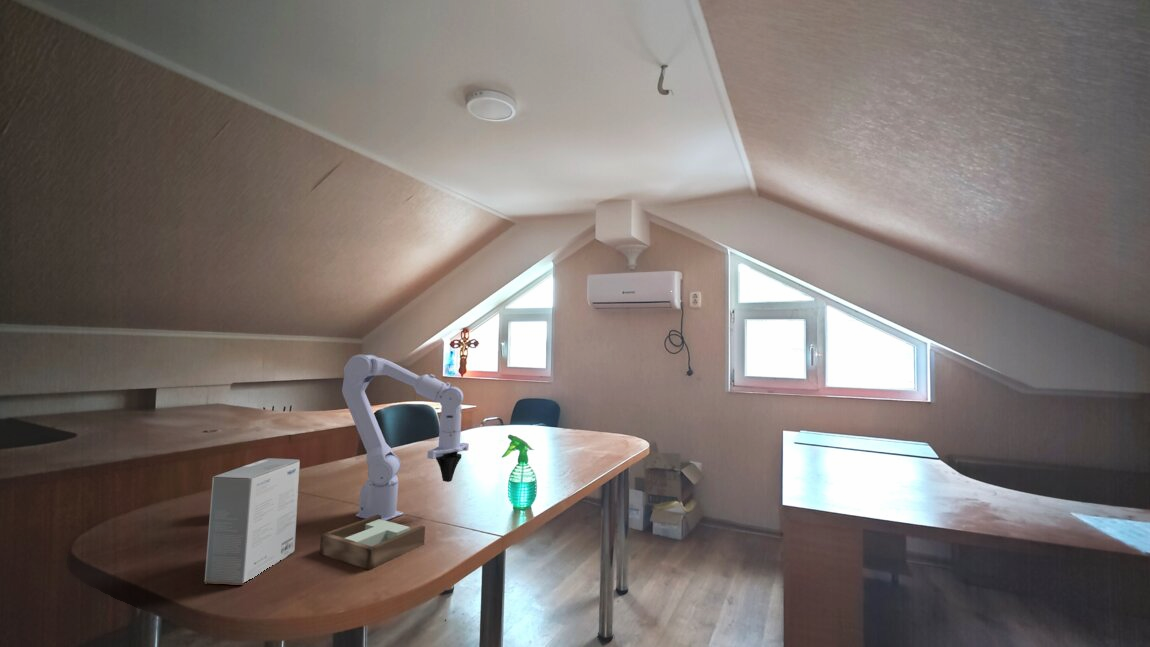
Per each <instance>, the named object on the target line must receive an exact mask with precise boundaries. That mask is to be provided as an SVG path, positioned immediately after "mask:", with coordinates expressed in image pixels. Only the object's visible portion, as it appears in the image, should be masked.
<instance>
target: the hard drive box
mask: <svg viewBox="0 0 1150 647" xmlns="http://www.w3.org/2000/svg"><path fill="white" fill-rule="evenodd" d="M300 462H301V461H300V459H293V458H273V457H271V458H265V459H261V460H258V461H255V462H252V463H249V464H246V465H244V466H241V467H238V468H237V467H236V468H234V469H232V470H229V471H226V472H222V473H220V474H217V475H215V476H212V481H211V482H212V483H211V495H210V509H209V519H208V520H209V521H208V535H207V544H206V545H207V547H206V555H205V556H206V557H205V558H206V559H205V573H204V582H205V581H211V582H222V583H225V582H233V583H244V582H246V581H248V580H249V579H252V578H253V579H255V578H256V577H255V576H257V575H258V574H259V575H260V573H261V572H262V573H264V572H265V571H267V570H268V569H270V568H271V567H273V566H275V565H276V564H277V563H279V562H281V561H282V560H284V559H286V558H287V557H288V556H289V555H292V554H293V553H294V552H295V547H296V534H297V533H296V530H297V515H298V514H297V513H298V497H299V480H300V479H299V478H300V464H301V463H300ZM280 560H281V561H280ZM272 565H273V566H272ZM269 567H270V568H269ZM267 568H268V569H267ZM266 569H267V570H266ZM264 570H265V571H264ZM263 571H264V572H263ZM262 573H261V574H262ZM259 575H258V576H259ZM258 576H257V577H258ZM254 577H255V578H254ZM253 579H252V580H253ZM248 582H249V581H248Z"/></svg>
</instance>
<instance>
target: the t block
mask: <svg viewBox="0 0 1150 647" xmlns="http://www.w3.org/2000/svg"><path fill="white" fill-rule="evenodd" d="M409 530H411V526H407V525H403V524H400V523H396V522H391V521H389V520H386V521H385V520H381V519H378V520H376V521H373V522H370V523H367V524H365V530H364V531H362V532H359V533H356V534H354V535H351V536H349V537H346V538H345V539H349V540H352V541H355V542H359V543H362V544H365V545H369V546H374V545H376V544H379V543H381V542H383V541H386V540H388V539H390V538H393V537H395V536H398V535H400V534H402V533H405V532H407V531H409Z"/></svg>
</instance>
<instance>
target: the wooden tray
mask: <svg viewBox="0 0 1150 647" xmlns="http://www.w3.org/2000/svg"><path fill="white" fill-rule="evenodd" d="M378 519H381V515H375V516H372V517H369V518H366V519H364V518H363V519H362V520H358V521H356V522H353V523H350V524H348V525H344V526H342V527H338V528H336V529H335V528H334V529H333V530H331V531H327V532H324V533H322V534H320V541H319V554H320V555H324V556H325V557H329V558H332V559H336V560H338V561H340V562H341V561H342V562H345V563H348V564H350V565H353V566H357V567H359V568H362V569H365V570H369V571H371V570H373V569H375V568H377V567H379V566H382V565H383V564H385V563H388V562H390V561H392V560H394V559H396V558H398V557H400V556H402V555H404V554H407V553H408V552H411V551H413V550H415V549H417V548H419V547H422V546H423V545H425V534H426V526H425V525H419V526H416V527H415V528H412V529H410V530H409V531H407V532H405V533H402V534H400V535H398V536H395V537H393V538H390V539H388V540H386V541H383V542H381V543H379V544H376V545H374V546H369V545H365V544H362V543H359V542H355V541H352V540H349V539H345V538H346V537H349V536H351V535H354V534H356V533H359V532H362V531H364V530H365V524H367V523H370V522H373V521H376V520H378Z"/></svg>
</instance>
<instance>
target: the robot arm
mask: <svg viewBox="0 0 1150 647" xmlns="http://www.w3.org/2000/svg"><path fill="white" fill-rule="evenodd" d="M343 373H344V374H343V380H342V382H343V383H342V388H341V393H342V395H343V399H344V400H345V403H346V405H347V408H348V410H349V412H350V416H351V417H352V420H353V422H354V425H355V428H356V429H357V432H358V434H359V438H360V440H361V441H362V444H363V446H364V449H365V451H366V459H365V460H366V461H365V462H366V464H367V476H368V480H367V481H365V482H364V484H362V486H361V489H360V492H359V500H358V502H359V504H358V513H356V514H355V517H357V518H361V519H363V520H364V519H366V518H369V517H372V516H375V515H381V520H385V521H389V520H392V519H395V518H398V517H399V516H403V515H404V511H399V510H397V509H398V508H397V506H398V493H399V492H398V491H399V490H398V489H399V478H398V476H397V474H399V472H400V470H401V467H402V461H401V459H400V457H398V455H396V454H395V453H394V451H393V450H392V448H391V447H390V445H388V443H387V442H386V439H385V437H384V435H383V433H382V429H381V428H380V425H379V423H378V420H377V419H376V416H375V412H374V411H373V407H372V406H371V403H370V401H369V398H368V396H367V393H366V392H365V391H366V389H367V388H368V386H369V384H370V382H371V381H372V380H373V379H374V378H375V377H376V376H389V377H390V378H392V379H395V380H398V381H401V382H402V383H405V384H407V385H409V386H412V387H413V388H414V391H415V393H416V394H418V395H420V396H422V397H424V398H426V399H429V400H431V401H432V402H435V403H439V404H440V407H441V409H440V410H441V412H440V416H439V431H438V432H439V434H438V446H437V447H435V448H432V449H430V450H428V451H427V456H426V457H427V458H426V459H429V460H436V462H437V465H438V466H439V469H440V473H441V478H442V482H446V483H449V482H452V481H453V478H454V474H455V472H456V471H455V470H456V469H457V465H458V464H459V462H460V461H461V459H462V454H461V453H460V452H463V451H464V452H465V451H469V448H470V447H469V445H470V444H469V443H468V442H461V433H462V431H461V429H462V409H463V408H462V405H461V404H462V403H463V401H464V393H463V391H462V390H461V389H460V388H459V387H458V386H456V385H455V386H454V385H453V386H451V383H450V382H448V381H447V382H443V381H441V380H440V379H437V378H436V375H434V374H433V373H431V374H423V375H419V374H416V373H414V372H413V371H410V370H408V369H406V368H405V367H403V366H401V365H398V364H396V363H394V362H393V361H390V360H388V359H385V358H382V357H378V356H377V355H374V354H355V355H352V356H351V357H350V358H349V359H348V361H347V363H346V364H345V366H344V367H343Z"/></svg>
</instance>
